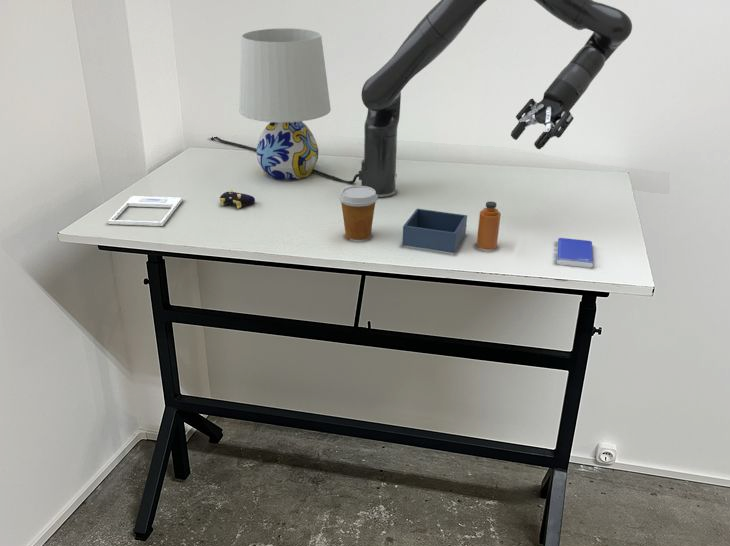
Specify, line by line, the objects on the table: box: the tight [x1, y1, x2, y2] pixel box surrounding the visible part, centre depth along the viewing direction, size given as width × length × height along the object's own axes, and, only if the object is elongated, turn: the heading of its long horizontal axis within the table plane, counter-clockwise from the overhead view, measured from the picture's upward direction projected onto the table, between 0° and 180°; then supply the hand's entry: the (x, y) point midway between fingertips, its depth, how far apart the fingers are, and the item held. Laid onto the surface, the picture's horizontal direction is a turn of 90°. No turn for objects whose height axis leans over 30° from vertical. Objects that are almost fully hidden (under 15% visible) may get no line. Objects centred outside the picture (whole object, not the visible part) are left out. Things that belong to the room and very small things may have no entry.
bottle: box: [476, 201, 501, 251], centre depth 174 cm, size 5×5×12 cm
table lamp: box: [238, 27, 332, 181], centre depth 212 cm, size 27×27×40 cm
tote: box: [401, 208, 468, 254], centre depth 178 cm, size 13×12×6 cm
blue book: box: [556, 237, 594, 269], centre depth 172 cm, size 2×8×12 cm
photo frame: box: [107, 195, 183, 227], centre depth 195 cm, size 15×1×18 cm
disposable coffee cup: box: [338, 185, 379, 241], centre depth 179 cm, size 10×10×12 cm
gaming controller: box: [219, 190, 256, 209], centre depth 200 cm, size 10×5×6 cm
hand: (524, 142), depth 173 cm, fingers open, 8 cm apart
